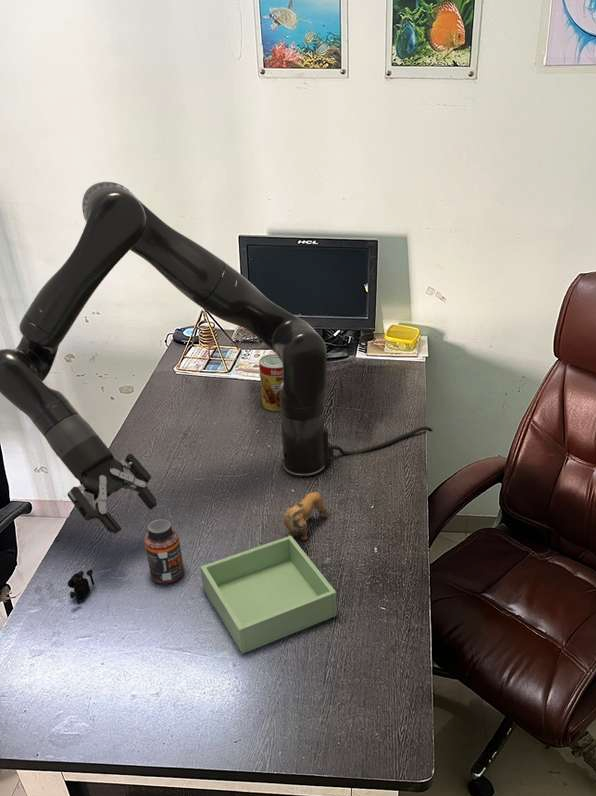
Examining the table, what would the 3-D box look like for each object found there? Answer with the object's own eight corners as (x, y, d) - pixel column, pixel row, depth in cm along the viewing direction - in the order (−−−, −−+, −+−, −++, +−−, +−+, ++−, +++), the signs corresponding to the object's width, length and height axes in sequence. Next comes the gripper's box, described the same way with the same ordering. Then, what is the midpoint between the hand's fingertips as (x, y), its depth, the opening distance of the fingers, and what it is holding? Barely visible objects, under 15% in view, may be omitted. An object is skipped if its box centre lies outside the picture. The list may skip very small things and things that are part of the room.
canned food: (281, 414, 185) (278, 370, 178) (256, 405, 188) (252, 362, 181) (299, 401, 191) (297, 358, 183) (274, 393, 194) (272, 350, 187)
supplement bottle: (176, 587, 134) (167, 538, 127) (145, 582, 135) (135, 533, 128) (189, 566, 139) (181, 518, 132) (159, 561, 139) (150, 513, 133)
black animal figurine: (77, 610, 129) (71, 589, 126) (64, 608, 129) (57, 586, 126) (98, 583, 134) (92, 562, 131) (85, 581, 135) (79, 560, 132)
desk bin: (292, 558, 141) (290, 535, 138) (336, 615, 129) (336, 592, 126) (203, 589, 133) (200, 566, 130) (242, 654, 121) (239, 630, 118)
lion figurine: (305, 554, 142) (303, 516, 137) (279, 548, 143) (276, 511, 138) (331, 510, 153) (330, 474, 148) (307, 505, 155) (306, 469, 149)
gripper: (51, 456, 123) (114, 533, 125) (117, 420, 133) (173, 492, 135) (38, 473, 128) (98, 547, 130) (102, 437, 138) (156, 506, 140)
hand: (136, 519), depth 133 cm, fingers open, 8 cm apart
